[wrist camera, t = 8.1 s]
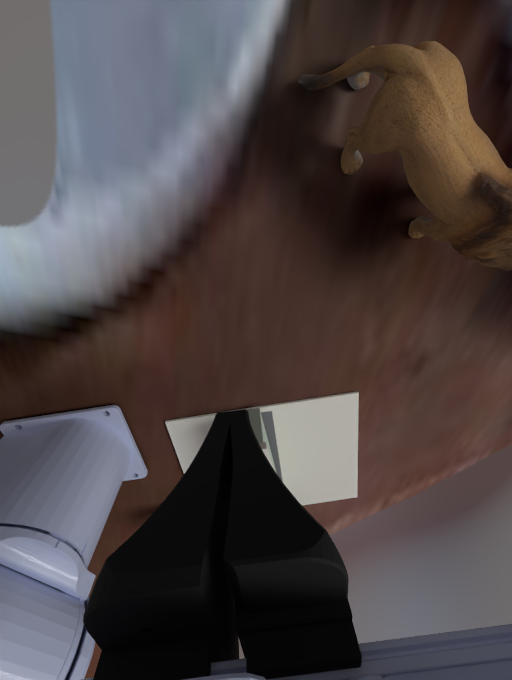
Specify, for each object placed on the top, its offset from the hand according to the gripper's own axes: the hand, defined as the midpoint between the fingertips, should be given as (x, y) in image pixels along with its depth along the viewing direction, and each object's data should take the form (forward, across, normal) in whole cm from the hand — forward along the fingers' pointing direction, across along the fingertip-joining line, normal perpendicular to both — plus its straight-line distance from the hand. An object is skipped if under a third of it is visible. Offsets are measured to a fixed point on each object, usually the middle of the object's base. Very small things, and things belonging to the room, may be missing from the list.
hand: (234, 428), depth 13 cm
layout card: (+9, -2, +13) cm, 16 cm away
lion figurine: (+10, -12, -10) cm, 18 cm away
